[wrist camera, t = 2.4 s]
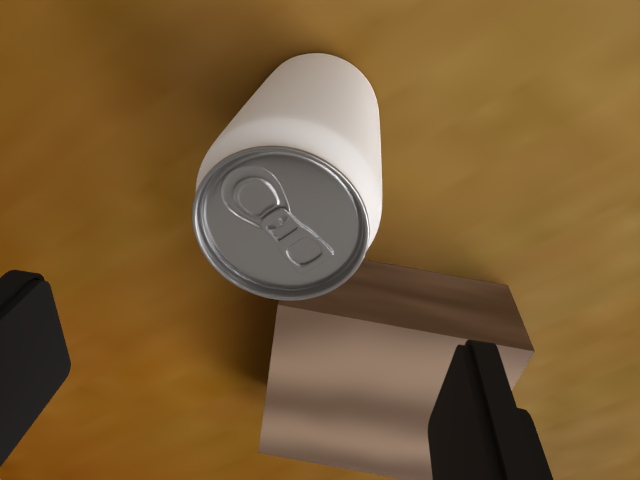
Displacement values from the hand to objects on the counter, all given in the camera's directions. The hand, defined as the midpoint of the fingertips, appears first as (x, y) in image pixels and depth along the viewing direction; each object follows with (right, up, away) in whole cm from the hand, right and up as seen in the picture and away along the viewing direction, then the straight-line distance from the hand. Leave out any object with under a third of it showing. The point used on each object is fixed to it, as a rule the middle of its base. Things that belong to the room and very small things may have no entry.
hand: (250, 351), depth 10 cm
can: (+2, +9, +14) cm, 17 cm away
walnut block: (+6, -5, +23) cm, 24 cm away
